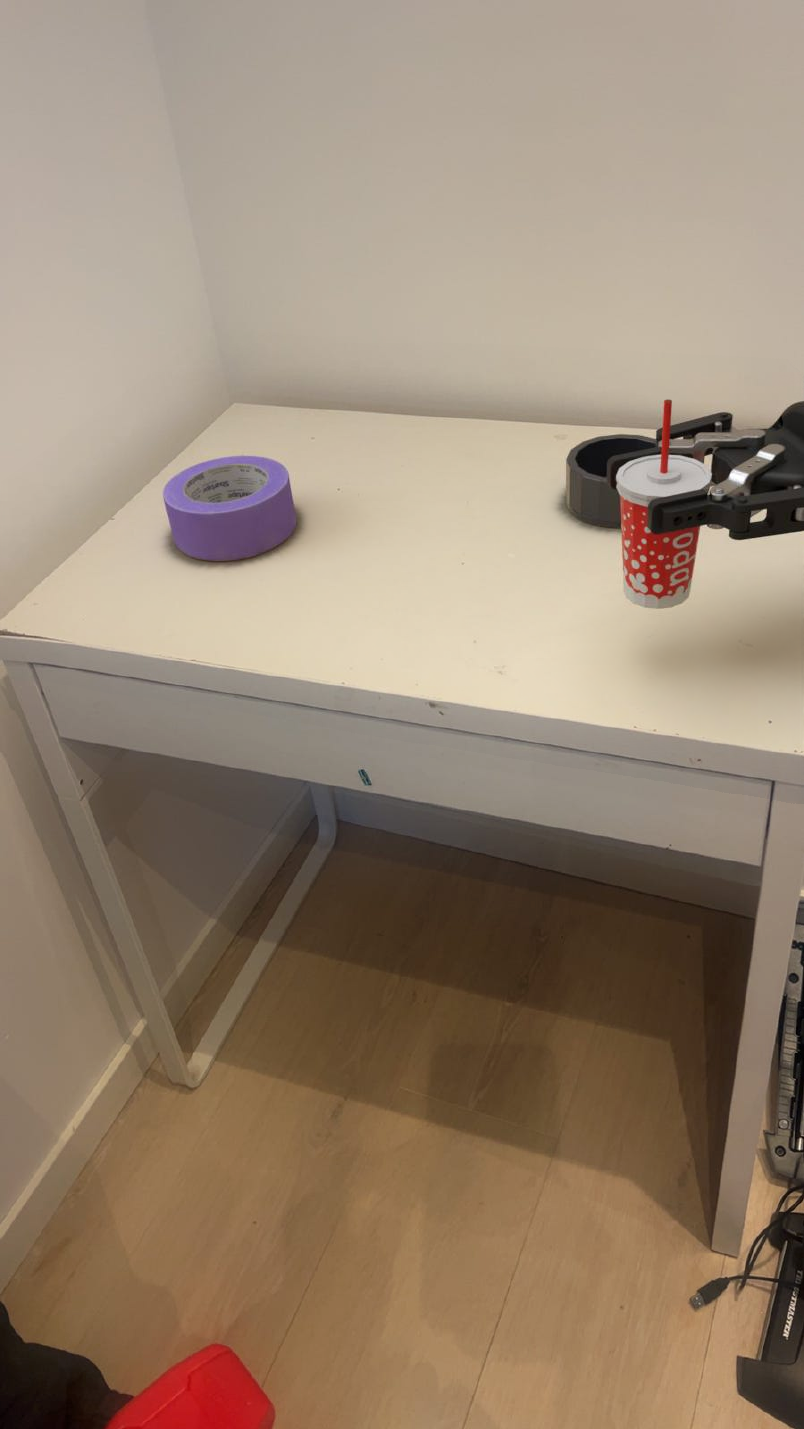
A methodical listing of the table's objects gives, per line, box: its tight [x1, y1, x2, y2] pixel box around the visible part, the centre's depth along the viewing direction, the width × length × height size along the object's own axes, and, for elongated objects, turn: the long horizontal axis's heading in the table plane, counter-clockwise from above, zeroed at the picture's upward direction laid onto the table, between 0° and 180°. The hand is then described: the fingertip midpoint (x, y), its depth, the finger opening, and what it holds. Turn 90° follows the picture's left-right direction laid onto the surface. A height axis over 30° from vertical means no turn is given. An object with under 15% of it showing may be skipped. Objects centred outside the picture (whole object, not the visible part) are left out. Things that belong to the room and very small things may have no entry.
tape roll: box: [162, 455, 297, 562], centre depth 97 cm, size 12×12×5 cm
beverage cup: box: [616, 399, 712, 610], centre depth 69 cm, size 6×6×14 cm
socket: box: [565, 433, 656, 529], centre depth 95 cm, size 10×10×4 cm
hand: (629, 495), depth 68 cm, fingers closed on beverage cup, 6 cm apart
